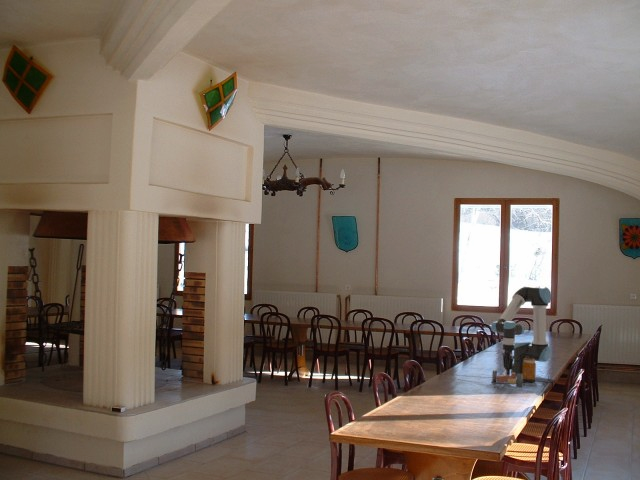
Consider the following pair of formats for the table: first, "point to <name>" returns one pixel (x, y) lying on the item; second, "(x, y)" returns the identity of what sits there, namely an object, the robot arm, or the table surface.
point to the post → (494, 376)
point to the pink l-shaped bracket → (506, 378)
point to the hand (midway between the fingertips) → (507, 379)
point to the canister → (528, 367)
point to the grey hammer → (517, 380)
